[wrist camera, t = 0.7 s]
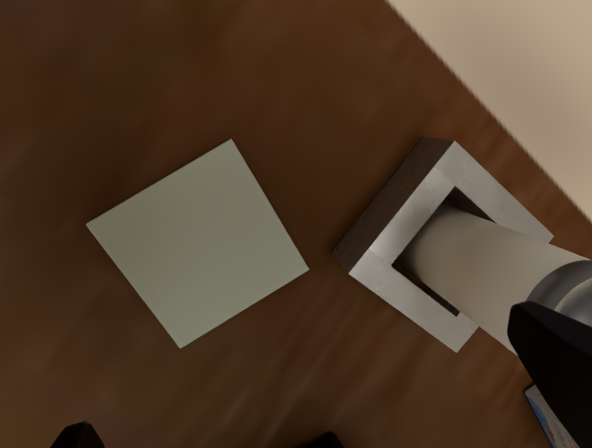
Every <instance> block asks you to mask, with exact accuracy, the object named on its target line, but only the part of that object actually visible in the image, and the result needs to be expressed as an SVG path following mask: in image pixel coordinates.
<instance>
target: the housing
mask: <svg viewBox="0 0 592 448" xmlns="http://www.w3.org/2000/svg"><path fill="white" fill-rule="evenodd" d="M446 196H447V197H448V198H449V199H450V200H451V201H452V202H454V203H455V204H456V205H457V206H458V207H459V208H460V209H461V210H462V211H465V212H467V213H470V214H472V215H475V216H478V217H480V218H483V219H485V220H488V221H491V222H493V223H496V224H499V225H501V226H504V227H506V228H509V229H512V230H514V231H517V232H519V233H522V234H525V235H527V236H530V237H532V238H535V239H538V240H540V241H543V242H545V243H549V242H550V240H551V239H552V238H553V237H554V236H553V235H552V234H551V233H550V232H549V231H548V230H547V229H546V228H545V227H544V226H543V225H542V224H541V223H540V222H539V221H538V220H537V219H536V218H535V217H534V216H533V215H532V214H531V213H529V212H528V211H527V210H526V209H525V208H524V207H523V206H522V205H521V204H520V203H519V202H518V201H517V200H516V199H515V198H514V197H513V196H512V195H511V194H510V193H509V192H508V191H507V190H506V189H505V188H503V187H502V186H501V185H500V184H499V183H498V182H497V181H496V180H495V179H494V178H493V177H492V176H491V175H490V174H489V173H488V172H487V171H486V170H485V169H484V168H483V167H482V166H481V165H480V164H479V163H477V162H476V161H475V160H474V159H473V158H472V157H471V156H470V155H469V154H468V153H467V152H466V151H465V150H464V149H463V148H462V147H461V146H460V145H459V144H458V143H457V142H456V141H453V140H445V139H436V138H428V137H423V138H422V139H421V140H420V141H419V143H418V144H417V145H416V147H415V148H414V149H413V150H412V152H411V153H410V154H409V155H408V157H407V158H406V159H405V160H404V162H403V163H402V164H401V165H400V167H399V168H398V169H397V171H396V172H395V173H394V174H393V176H392V177H391V178H390V179H389V181H388V182H387V183H386V184H385V186H384V187H383V188H382V189H381V191H380V192H379V193H378V195H377V196H376V197H375V198H374V200H373V201H372V202H371V203H370V205H369V206H368V207H367V208H366V210H365V211H364V212H363V213H362V215H361V216H360V217H359V219H358V220H357V221H356V222H355V224H354V225H353V226H352V227H351V229H350V230H349V231H348V232H347V234H346V235H345V236H344V237H343V239H342V240H341V241H340V243H339V244H338V245H337V246H336V248H335V249H334V250H333V251H332V253H331V255H332V256H333V257H334V258H335V259H336V260H337V261H338V263H339V264H340V265H341V266H342V267H343V268H344V269H345V270H346V271H347V272H348V274H350V275H351V276H352V277H354V278H355V279H357V280H358V281H359V282H361V283H362V284H363V285H365V286H366V287H367V288H369V289H370V290H372V291H373V292H374V293H376V294H377V295H378V296H380V297H381V298H382V299H384V300H385V301H387V302H388V303H389V304H391V305H392V306H393V307H395V308H396V309H397V310H399V311H400V312H402V313H403V314H404V315H406V316H407V317H408V318H410V319H411V320H412V321H414V322H415V323H417V324H418V325H419V326H421V327H422V328H423V329H425V330H426V331H427V332H429V333H430V334H432V335H433V336H434V337H436V338H437V339H438V340H440V341H441V342H442V343H444V344H445V345H447V346H448V347H449V348H451V349H452V350H453V351H455V352H456V353H457V352H458V351H459V350H460V348H461V347H462V346H463V345H464V344H465V342H466V341H467V340H468V339H469V338H470V336H471V335H472V334H473V333H474V332H475V330H476V329H477V328H478V327H479V325H477V324H476V323H475V322H473V321H472V320H471V319H469V318H468V317H467V316H466V315H464V314H463V313H462V312H460V311H459V310H458V309H457V308H455V307H454V306H453V305H451V304H450V303H449V302H448V301H446V300H445V299H444V298H442V297H441V296H440V295H438V294H437V293H436V292H435V291H433V290H432V289H431V290H430V291H429V293H428V294H427V293H426V292H425V291H423V290H422V289H421V288H419V287H418V286H417V285H415V284H414V283H413V282H412V281H410V280H409V279H408V278H406V277H405V276H404V275H403V274H401V273H400V272H399V271H397V270H396V269H395V268H393V267H392V266H391V265H392V263H393V262H394V261H395V260H396V258H397V257H398V256H399V255H400V253H401V252H402V251H403V250H404V248H405V247H406V246H407V245H408V243H409V242H410V241H411V240H412V238H413V237H414V236H415V235H416V233H417V232H418V231H419V230H420V229H421V227H422V226H423V225H424V224H425V222H426V221H427V220H428V219H429V217H430V216H431V215H432V214H433V212H434V211H435V210H436V209H437V207H438V206H439V205H440V204H441V202H442V201H443V200H444V199H445V197H446Z"/></svg>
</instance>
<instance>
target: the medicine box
mask: <svg viewBox="0 0 592 448" xmlns="http://www.w3.org/2000/svg"><path fill="white" fill-rule="evenodd" d="M525 395H526V397H527V399H528V401H529V402H530V404H531V406H532V408H533V410H534V412H535V414H536V416H537V418H538V420H539V422H540V423H541V425H542V427H543V429H544V431H545V433H546V435H547V437H548V439H549V441H550V442H551V444H552V446H553V448H579V447H578V445H577V444H576V443H575V441H574V440H573V438H572V437H571V436H570V434H569V433H568V432H567V430H566V429H565V428H564V426H563V425H562V424H561V422H560V421H559V420H558V418H557V417H556V416H555V414H554V413H553V411H552V410H551V409H550V407H549V406H548V404H547V403H546V401H545V400H544V398H543V397H542V395H541V393H540V392H539V390H538V388H537V387H536V385H533V386H532V387H531V388H529V389H528V390H526V391H525Z"/></svg>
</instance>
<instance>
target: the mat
mask: <svg viewBox="0 0 592 448" xmlns="http://www.w3.org/2000/svg"><path fill="white" fill-rule="evenodd" d="M86 226H87V227H88V229H89V230H90V231H91V233H92V234H93V235H94V236H95V238H96V239H97V240H98V242H99V243H100V244H101V246H102V247H103V248H104V250H105V251H106V252H107V253H108V255H109V256H110V257H111V259H112V260H113V261H114V263H115V264H116V265H117V267H118V268H119V269H120V270H121V272H122V273H123V274H124V276H125V277H126V278H127V280H128V281H129V282H130V284H131V285H132V286H133V287H134V289H135V290H136V291H137V293H138V294H139V295H140V297H141V298H142V299H143V301H144V302H145V303H146V304H147V306H148V307H149V308H150V310H151V311H152V312H153V314H154V315H155V316H156V318H157V319H158V320H159V321H160V323H161V324H162V325H163V327H164V328H165V329H166V331H167V332H168V333H169V335H170V336H171V337H172V338H173V340H174V341H175V342H176V344H177V345H178V346H179V348H180V349H181V348H182V347H184V346H186V345H187V344H189V343H190V342H192V341H194V340H195V339H197V338H199V337H200V336H202V335H203V334H205V333H207V332H208V331H210V330H212V329H213V328H215V327H217V326H218V325H220V324H221V323H223V322H225V321H226V320H228V319H230V318H231V317H233V316H235V315H236V314H238V313H239V312H241V311H243V310H244V309H246V308H248V307H249V306H251V305H252V304H254V303H256V302H257V301H259V300H261V299H262V298H264V297H266V296H267V295H269V294H270V293H272V292H274V291H275V290H277V289H279V288H280V287H282V286H284V285H285V284H287V283H288V282H290V281H292V280H293V279H295V278H297V277H298V276H300V275H301V274H303V273H305V272H306V271H308V270H309V268H308V267H307V265H306V263H305V262H304V260H303V258H302V257H301V255H300V253H299V252H298V250H297V248H296V247H295V245H294V243H293V241H292V240H291V238H290V236H289V235H288V233H287V231H286V230H285V228H284V226H283V225H282V223H281V221H280V220H279V218H278V216H277V215H276V213H275V211H274V209H273V208H272V206H271V204H270V203H269V201H268V199H267V198H266V196H265V194H264V193H263V191H262V189H261V188H260V186H259V184H258V183H257V181H256V179H255V177H254V176H253V174H252V172H251V171H250V169H249V167H248V166H247V164H246V162H245V161H244V159H243V157H242V156H241V154H240V152H239V151H238V149H237V147H236V145H235V144H234V142H233V140H232V139H229V140H227V141H226V142H224V143H222V144H221V145H219V146H217V147H216V148H214V149H212V150H210V151H209V152H207V153H205V154H204V155H202V156H200V157H199V158H197V159H195V160H193V161H192V162H190V163H188V164H187V165H185V166H183V167H182V168H180V169H178V170H176V171H175V172H173V173H171V174H170V175H168V176H166V177H165V178H163V179H161V180H159V181H158V182H156V183H154V184H153V185H151V186H149V187H147V188H146V189H144V190H142V191H141V192H139V193H137V194H136V195H134V196H132V197H130V198H129V199H127V200H125V201H124V202H122V203H120V204H119V205H117V206H115V207H113V208H112V209H110V210H108V211H107V212H105V213H103V214H102V215H100V216H98V217H96V218H95V219H93V220H91V221H90V222H88V223H87V224H86Z"/></svg>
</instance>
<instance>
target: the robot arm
mask: <svg viewBox="0 0 592 448" xmlns="http://www.w3.org/2000/svg"><path fill="white" fill-rule="evenodd" d="M507 336H508V339H509V341H510V343H511V345H512V347H513V348H514V350H515V352H516V353H517V355H518V357H519V358H520V360H521V362H522V363H523V365H524V367H525V368H526V370H527V372H528V373H529V375H530V377H531V378H532V380H533V382H534V383H535V385H536V387H537V388H538V390H539V392H540V393H541V395H542V397H543V398H544V400H545V401H546V403H547V404H548V406H549V407H550V409H551V410H552V411H553V413H554V414H555V416H556V417H557V418H558V420H559V421H560V422H561V424H562V425H563V426H564V428H565V429H566V430H567V432H568V433H569V434H570V436H571V437H572V438H573V440H574V441H575V443H576V444H577V445H578V447H579V448H592V327H591V326H589V325H587V324H584V323H582V322H580V321H577V320H575V319H573V318H571V317H568V316H566V315H564V314H561V313H559V312H557V311H555V310H552V309H550V308H548V307H545V306H543V305H541V304H539V303H536V302H534V301H524V302H520V303H517V304H514V305H512V307H511V308H510V314H509V320H508V327H507ZM331 440H333V441H332V442H330V443H329V441H331ZM50 448H105V447H104V444H103V442H102V441H101V439H100V438H99V436H98V434H97V433H96V431H95V430H94V428H93V426H92V425H91V424H90V423H89V422H87V421H84V422H80V423H77V424H73V425H70V426H67V427H66V428H65V429H64V430H63V431H62V432H61V433H60V435H59V436H58V437H57V439H56V440H55V441H54V443H53V444H52V446H51V447H50ZM306 448H344V447H343V445H342V444H341V442H340V441H339V439H338V438H337V437H336V435H335V434H333V433H329V434H326V435H325V436H323V437H322V438H320V439H318V440H317V441H315V442H314V443H312V444H311V445H309V446H307V447H306Z"/></svg>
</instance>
